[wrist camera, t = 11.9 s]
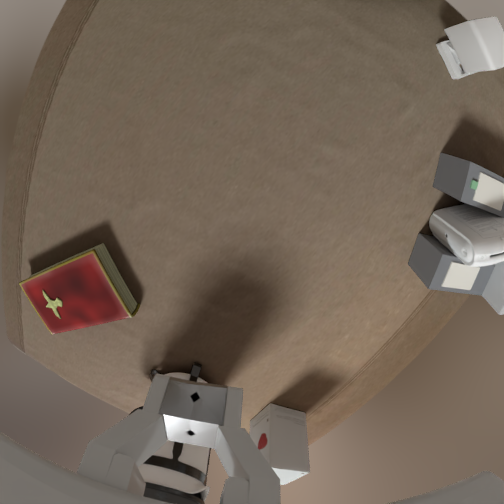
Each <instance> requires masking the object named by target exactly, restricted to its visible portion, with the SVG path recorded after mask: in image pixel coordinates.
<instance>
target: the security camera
mask: <svg viewBox="0 0 504 504" xmlns="http://www.w3.org/2000/svg"><path fill="white" fill-rule="evenodd" d="M444 31H445V32H446V34H447V36H448V38H449V40H447V41H444V42H440V43H437V44H436V46H437V48H438V50H439V52H440V54H441V56H442V58H443V60H444V62H445V64H446V67H447V69H448V71H449V73H450V75H451V78H452V79H460V78H462V77H465V76H468V75H470V74H473V73H476V72H479V71H491V70H496V69H499V68H502V67H504V30H503V28H502V26H501V24H500V22H499V20H498V18H497V17H496V16H495V17H487V18H481V19H474V20H469V21H466V22H463V23H460V24H457V25H454V26H451V27H448V28H446V29H444ZM459 64H461V65H462V69H463V71H462V69H461V68H460V66H459Z"/></svg>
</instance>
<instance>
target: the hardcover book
mask: <svg viewBox="0 0 504 504" xmlns="http://www.w3.org/2000/svg"><path fill="white" fill-rule="evenodd" d="M19 284H20V286H21V288H22V289H23V291H24V293H25V295H26V296H27V298H28V299H29V301H30V303H31V304H32V306H33V307H34V309H35V311H36V312H37V314H38V315H39V317H40V318H41V320H42V321H43V323H44V324H45V326H46V327H47V329H48V330H49V331H50V333H51V334H56V333H61V332H66V331H71V330H75V329H80V328H85V327H89V326H94V325H99V324H103V323H108V322H112V321H116V320H121V319H125V318H130V317H134V315H135V314H136V313H137V311H138V309H139V307H140V304H139V303H136V301H135V299H134V298H133V296H132V294H131V292H130V291H129V289H128V287H127V285H126V284H125V282H124V280H123V278H122V277H121V275H120V273H119V271H118V269H117V267H116V266H115V264H114V262H113V260H112V258H111V256H110V254H109V252H108V250H107V248H106V246H105V244H104V243H102V244H100V245H98V246H95V247H93V248H90V249H88V250H86V251H83V252H81V253H79V254H77V255H74V256H72V257H70V258H68V259H65V260H63V261H61V262H59V263H56V264H54V265H52V266H50V267H48V268H46V269H43V270H41V271H39V272H37V273H35V274H33V275H31V276H30V277H29V278H28V279H26V280H24V281H21V282H20V283H19Z"/></svg>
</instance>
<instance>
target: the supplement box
mask: <svg viewBox="0 0 504 504" xmlns="http://www.w3.org/2000/svg"><path fill="white" fill-rule="evenodd" d="M249 436H250V437H251V439H252V440H253V442H254V443H255V445H256V446H257V448H258V449H259V450H260V452H261V453H262V455H263V456H264V458H265V459H266V460H267V462H268V463H269V465H270V466H271V467H272V469H273V470H274V472H275V473H276V474H277V476H278V477H279V478H280V485H285V484H287V483H289V482H291V481H294V480H296V479H298V478H300V477H302V476H304V475H306V474H307V473H309V472H310V465H309V451H308V438H307V425H306V413H304V412H300V411H297V410H293V409H289V408H286V407H282V406H278V405H275V404H272V403H270V404H269V405H268V406H266V407H265V408H264V409H263V410H262V411H261V412H260V413H259V414H258V415H256V416H255V417H254V418H253V419H252V420H251V421H250V434H249Z"/></svg>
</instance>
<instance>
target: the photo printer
mask: <svg viewBox="0 0 504 504" xmlns="http://www.w3.org/2000/svg"><path fill="white" fill-rule="evenodd" d="M429 227H430V229H431V231H432V232H433V235H434V237H435V238H437V239H438V240H439V241H440V242H441V243H442V244H443V245H444V246H446V247H447V248H448V249H449V250H450V251H451V252H452V253H453V254H454V255H455V256H457V257H458V258H459V259H460V260H461V261H462V262H463V263H464V264H465V265H467V266H471V267H481V266H488V265H493V264H496V263H500V262H502V261H504V218H503V217H501V216H498V215H496V214H493V213H491V212H488V211H485V210H483V209H480V208H478V207H475V206H472V205H469V204H463V205H458V206H452V207H448V208H443V209H439V210H436V211H434V212H433V214H432V215H431V217H430V220H429Z"/></svg>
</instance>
